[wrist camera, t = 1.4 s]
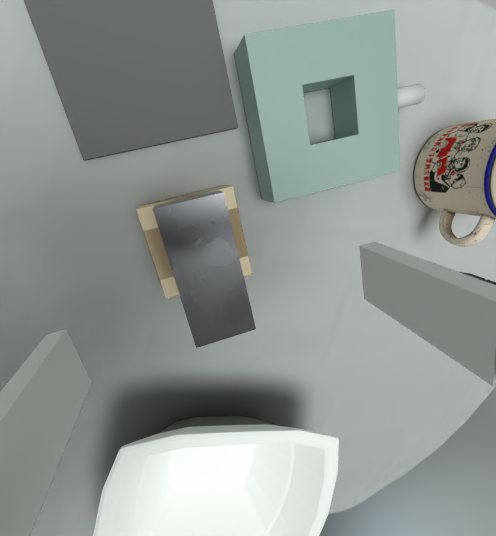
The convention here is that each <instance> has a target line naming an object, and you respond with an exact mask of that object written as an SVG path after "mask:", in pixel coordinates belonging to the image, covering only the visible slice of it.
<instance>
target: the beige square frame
mask: <svg viewBox="0 0 496 536" xmlns="http://www.w3.org/2000/svg"><path fill="white" fill-rule="evenodd" d="M218 190H220V191H222V192H224V195H225V199H226V203H227V208H228V212H229V216H230V221H231V225H232V229H233V233H234V238H235V242H236V246H237V251H238V255H239V259H240V263H241V268H242V272H243V276H247V275H251V274H252V271H251V266H250V262H249V257H248V253H247V248H246V244H245V239H244V235H243V230H242V226H241V221H240V217H239V212H238V208H237V203H236V198H235V194H234V189H233V186H229V185H224V186H220V187H216V188H212V189H207V190H203V191H199V192H195V193H191V194H186V195H182V196H178V197H174V198H170V199H165V200H161V201H157V202H153V203H149V204H144V205H140V206H139V207H138V208H137V209H136V211H137V214H138V217H139V220H140V223H141V226H142V229H143V232H144V235H145V238H146V241H147V244H148V247H149V250H150V253H151V256H152V259H153V262H154V265H155V268H156V271H157V274H158V277H159V280H160V283H161V286H162V289H163V292H164V295H165V298H166V299H167V298H170V297H174V296H177V295H180V294H179V291H178V288H177V285H176V282H175V278H174V275H173V272H172V269H171V266H170V263H169V259H168V256H167V253H166V250H165V247H164V244H163V241H162V237H161V234H160V231H159V228H158V225H157V222H156V218H155V215H154V212H153V208H154V206H155V205H159V204H164V203H168V202H172V201H176V200H180V199H184V198H189V197H193V196H197V195H201V194H205V193H209V192H214V191H218Z"/></svg>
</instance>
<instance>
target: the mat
mask: <svg viewBox="0 0 496 536" xmlns="http://www.w3.org/2000/svg"><path fill="white" fill-rule="evenodd" d="M24 2H25V5H26V7H27V10H28V13H29V15H30V18H31V21H32V23H33V26H34V29H35V31H36V34H37V37H38V39H39V42H40V45H41V47H42V50H43V53H44V55H45V58H46V61H47V63H48V66H49V69H50V72H51V74H52V77H53V80H54V82H55V85H56V88H57V90H58V93H59V96H60V98H61V101H62V104H63V106H64V109H65V112H66V114H67V117H68V120H69V122H70V125H71V128H72V130H73V133H74V136H75V139H76V141H77V144H78V147H79V149H80V152H81V155H82V157H83V160H88V159H93V158H98V157H103V156H107V155H112V154H117V153H122V152H126V151H131V150H136V149H141V148H145V147H150V146H155V145H159V144H164V143H169V142H174V141H178V140H183V139H188V138H193V137H197V136H202V135H207V134H212V133H216V132H221V131H226V130H231V129H235V128H238V124H237V119H236V115H235V110H234V105H233V100H232V95H231V90H230V85H229V80H228V75H227V70H226V65H225V60H224V55H223V51H222V46H221V41H220V36H219V31H218V26H217V21H216V16H215V11H214V6H213V1H212V0H24Z"/></svg>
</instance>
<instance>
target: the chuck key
mask: <svg viewBox="0 0 496 536" xmlns="http://www.w3.org/2000/svg"><path fill="white" fill-rule="evenodd" d="M153 212H154V215H155V218H156V222H157V225H158V228H159V231H160V234H161V237H162V241H163V244H164V247H165V250H166V253H167V256H168V259H169V263H170V266H171V269H172V272H173V275H174V278H175V282H176V285H177V288H178V291H179V294H180V297H181V301H182V304H183V307H184V310H185V313H186V316H187V319H188V323H189V326H190V329H191V332H192V335H193V338H194V342H195V345H196V348H197V347H200V346H204V345H207V344H210V343H213V342H216V341H219V340H223V339H226V338H229V337H232V336H235V335H239V334H242V333H245V332H248V331H251V330H254V329H256V328H255V324H254V319H253V315H252V311H251V306H250V302H249V298H248V294H247V289H246V285H245V281H244V276H243V272H242V268H241V263H240V259H239V255H238V251H237V246H236V242H235V238H234V233H233V229H232V225H231V221H230V216H229V212H228V208H227V203H226V199H225V195H224V192H222V191H220V190H218V191H214V192H209V193H205V194H201V195H197V196H193V197H189V198H184V199H180V200H176V201H172V202H168V203H164V204H159V205H155V206H154V208H153Z"/></svg>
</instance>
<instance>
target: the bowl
mask: <svg viewBox="0 0 496 536" xmlns="http://www.w3.org/2000/svg"><path fill="white" fill-rule="evenodd" d="M338 446H339V440H338V438H337V437H336V436H333V435H328V434H323V433H319V432H314V431H309V430H304V429H299V428H291V427H284V426H277V425H274V424H271V423H268V422H265V421H262V420H259V419H255V418H250V417H245V416H209V417H193V418H189V419H185V420H180V421H177V422H175V423H174V424H172V425H170V426H169V427H167V428H166V429H164V430H163V431H161V432H160V433H158V434H155V435H152V436H149V437H146V438H143V439H141V440H138V441H135V442H132V443H129V444H126V445H124V446H121V448H120V449H119V452H118V454H117V456H116V459H115V461H114V463H113V466H112V468H111V471H110V473H109V475H108V478H107V480H106V483H105V485H104V487H103V490H102V494H101V499H100V504H99V509H98V514H97V519H96V524H95V529H94V534H93V536H319V534H320V532H321V530H322V527H323V525H324V523H325V520H326V518H327V516H328V513H329V509H330V505H331V500H332V496H333V491H334V487H335V482H336V478H337V473H338Z"/></svg>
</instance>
